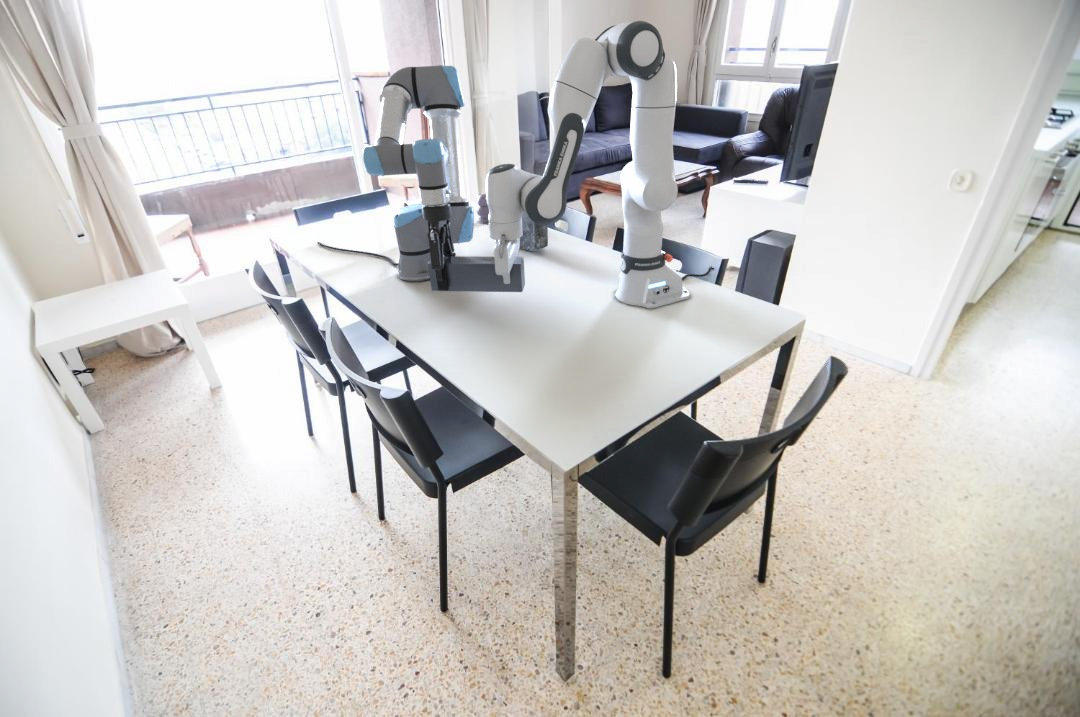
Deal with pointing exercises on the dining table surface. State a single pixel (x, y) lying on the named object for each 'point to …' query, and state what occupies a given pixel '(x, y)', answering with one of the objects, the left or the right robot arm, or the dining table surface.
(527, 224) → the concrete block
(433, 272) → the bar
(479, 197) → the purple stacked rounded piece
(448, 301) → the dining table surface
